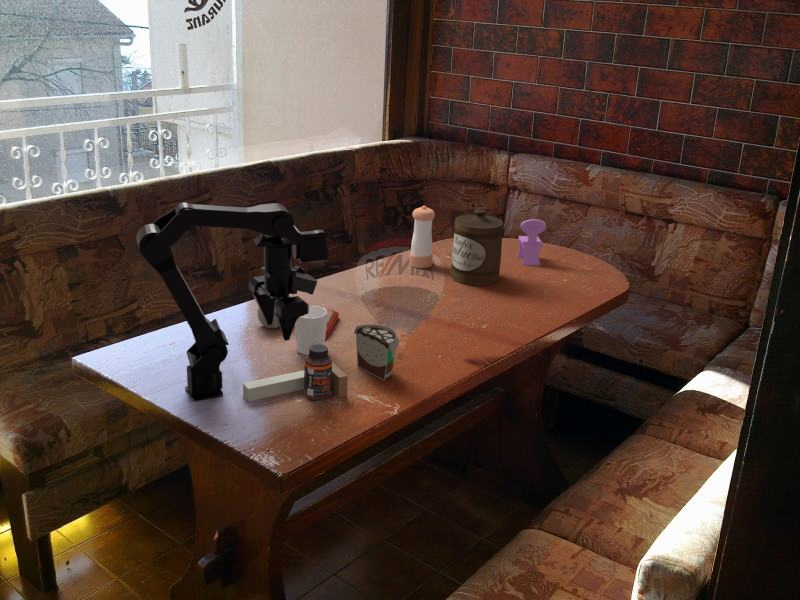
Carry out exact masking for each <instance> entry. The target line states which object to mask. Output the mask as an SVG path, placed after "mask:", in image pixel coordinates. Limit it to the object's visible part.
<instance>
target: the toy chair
mask: <svg viewBox="0 0 800 600" xmlns="http://www.w3.org/2000/svg"><path fill="white" fill-rule="evenodd" d="M520 229H521V231H522V232H523V233H524V234H526V235H525V236H524V235H519V236H518V239H517V240H518V244H519V249H518V252H517V254H516V258H523V260H522V262H521V263H520V265H521V266H536V267H537V266H541V263H540V259H539V255H540V251H541V250H542V247H543V241H542V240H541V239H540V237H539V236H538V235H539V234H541V233H542V232H544V231H545V230H546V229H547V223H546V222H545V221H544V220H541V219H537V218H536V219H535V218H534V219H533V218H531V219H527V220H524V221H522V222H521V223H520Z"/></svg>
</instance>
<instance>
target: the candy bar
mask: <svg viewBox="0 0 800 600" xmlns="http://www.w3.org/2000/svg"><path fill="white" fill-rule="evenodd" d="M326 310H327V324H326V337H325V339H327V338H328V336H329V334H330V333H331V331H332V330H333V328H334V326H335V324H336V322H337V320H338V318H339V314H340V313H339V312H338V311H337V310H334V309H330V308H327V309H326Z"/></svg>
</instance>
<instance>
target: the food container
mask: <svg viewBox="0 0 800 600" xmlns="http://www.w3.org/2000/svg"><path fill="white" fill-rule="evenodd" d="M353 334H354V335H355V339H356V340H355V341H356V361H357V363H356V366H357V367H358V369H361V370H362V371H364V372H367V373H368V374H370V375H372V376H374V377H377V378H378V379H379V380H381V381H383V382H385V381H388V380H389V379H390V378H392V374H393V367H394V361H395V355H396V349H398V347H399V346H400V342H399V336H398V334H397V332H396V331H395V330H394V329H393V328H391V327H388V326H385V325H381V324H360V325H356V326H355V329H354V333H353Z"/></svg>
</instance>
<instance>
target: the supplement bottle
mask: <svg viewBox="0 0 800 600" xmlns="http://www.w3.org/2000/svg"><path fill="white" fill-rule="evenodd" d="M332 362H333V359H332V357H331V355H329V347H328V346H327V345H321V344H315V345H312V346H310V348H309V354H308V355H305V357H304V367H303V368H304V389H303V394H304V396H305V397H306V398H307V399H309V400H313V401H314V400H315V401H323V400H325V399H327V398H329V397H331V394H332V391H331V382H332Z"/></svg>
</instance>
